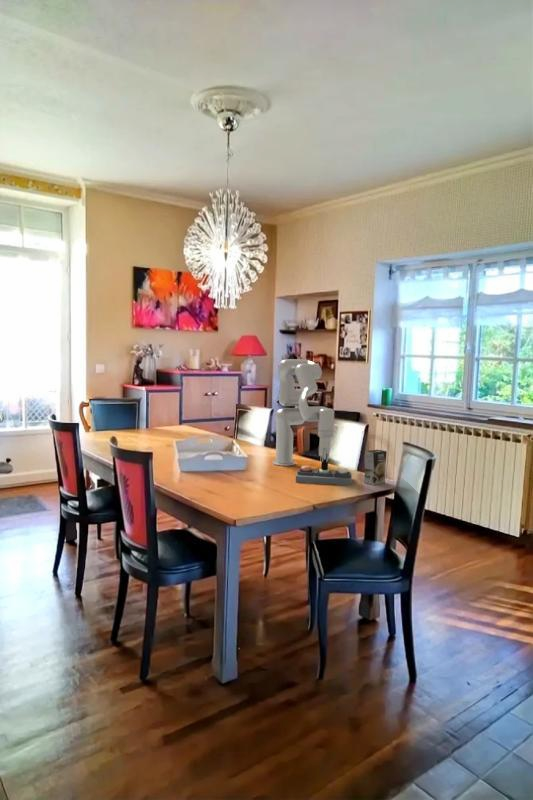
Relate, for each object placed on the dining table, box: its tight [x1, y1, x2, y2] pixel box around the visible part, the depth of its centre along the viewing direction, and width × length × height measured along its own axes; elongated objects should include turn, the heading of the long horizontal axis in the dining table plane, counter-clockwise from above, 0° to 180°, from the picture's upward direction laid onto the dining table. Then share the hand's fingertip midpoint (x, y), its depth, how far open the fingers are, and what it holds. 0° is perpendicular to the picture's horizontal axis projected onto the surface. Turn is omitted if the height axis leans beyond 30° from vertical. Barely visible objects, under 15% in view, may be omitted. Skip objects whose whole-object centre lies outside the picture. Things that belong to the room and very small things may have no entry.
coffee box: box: [363, 449, 387, 486], centre depth 263 cm, size 9×6×16 cm
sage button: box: [318, 468, 330, 473], centre depth 265 cm, size 5×5×2 cm
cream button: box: [336, 467, 349, 474], centre depth 264 cm, size 5×5×2 cm
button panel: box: [295, 468, 353, 486], centre depth 265 cm, size 14×27×4 cm, turn 81°
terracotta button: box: [300, 465, 312, 472], centre depth 266 cm, size 5×5×2 cm
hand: (324, 469), depth 265 cm, fingers closed
